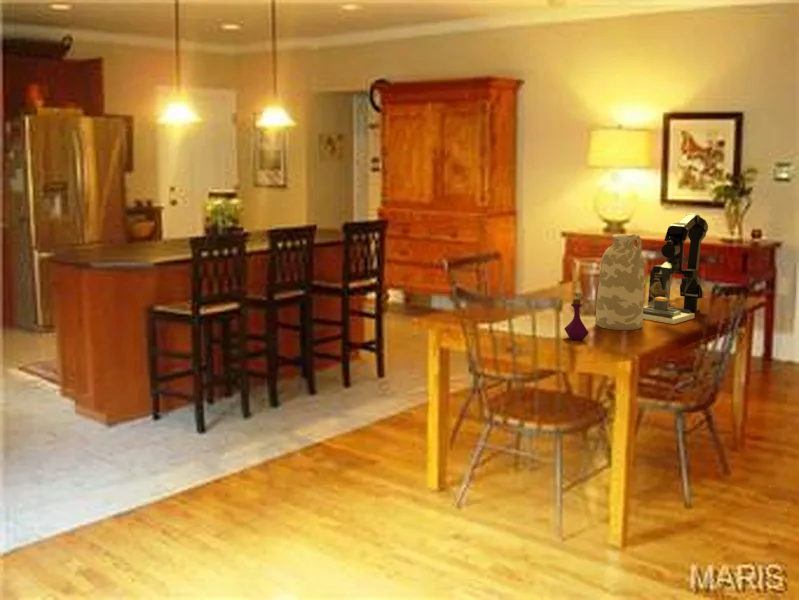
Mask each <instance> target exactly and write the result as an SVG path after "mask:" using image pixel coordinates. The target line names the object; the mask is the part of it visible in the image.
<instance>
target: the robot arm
mask: <svg viewBox="0 0 799 600" xmlns="http://www.w3.org/2000/svg"><path fill="white" fill-rule="evenodd" d="M708 224H709V223H707V220H706V219H704V218H703V217H701V216H700V214H698V213H686V215H685V217H684V218H682V219H681V220H680V221H679V222H673V223H671V224H670V225H669V226H668V227H667V230H666V234H665V237H664V242H666V244H664V245H662V246H661V247H662V248H661V254H662V256H663V257H665V258H666V261H665V262H664V263H663V264H657V265H653V266H652V268H651V269H652V272H653V273H655V275H657V276H658V277H659V279H660V282H661V285H662V289H663V290H665V287H666V280H667V274H668V275H671V274H672V275H673V274H677V275H683V277H682V278H681V283H680V285H679V297H684V299H683V307H682V308H681V309H686V310H690V313H696V312H699V311H701V309H700V308H698V303H699V299H703V298H704V297H703V296H704V290H703V286H702V284H701V283H702V281H701V279H700V272H699V265H700V258H701V257H700V256H701V247H702V241H703V240H704V239H705V238H706V236H707V233H708V230H709V225H708ZM687 239H689V249H688V257H687V265H686V266H687V267H686V269H685V266H683V265H684V260H686V257H685V256H684V252H685V251H684V250H685V243H686V241H687Z"/></svg>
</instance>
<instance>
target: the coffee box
mask: <svg viewBox="0 0 799 600" xmlns="http://www.w3.org/2000/svg"><path fill="white" fill-rule="evenodd" d="M672 275H673V274H671V275H668V274H667V280H666V287H665V290H663V289H662V285H661V282H660V279H659V277H658V276H657V275H655V273H653V272H652V268H651V269H650V275H649V284H648V285H649V287H648V296H647V297H648V298H647V305H649V304H654V302H655V298H656V297H665V298H668V306H669V305H670V298H671V297H670V296H671V285H672Z"/></svg>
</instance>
